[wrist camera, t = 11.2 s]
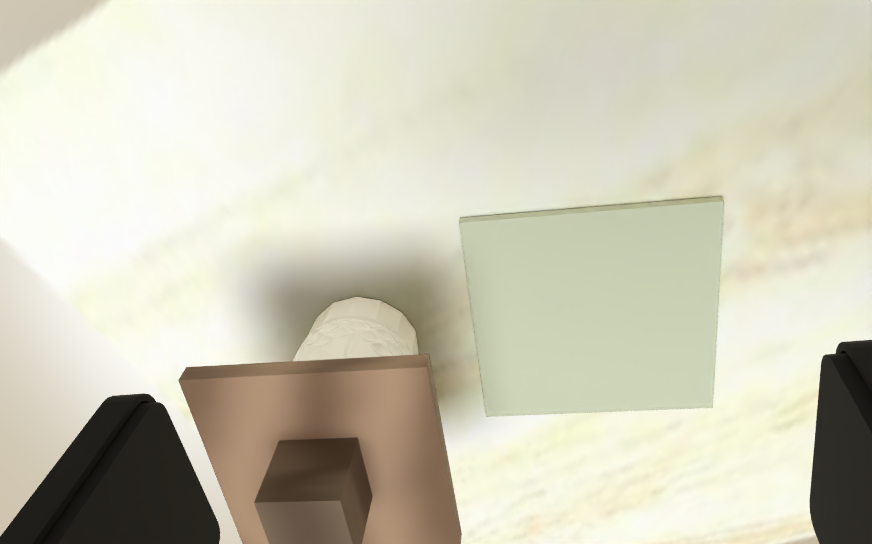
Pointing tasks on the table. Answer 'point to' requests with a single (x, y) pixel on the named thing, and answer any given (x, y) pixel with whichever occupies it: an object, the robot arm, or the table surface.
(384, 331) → the white cup
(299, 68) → the table surface
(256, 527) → the lid
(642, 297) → the mat
